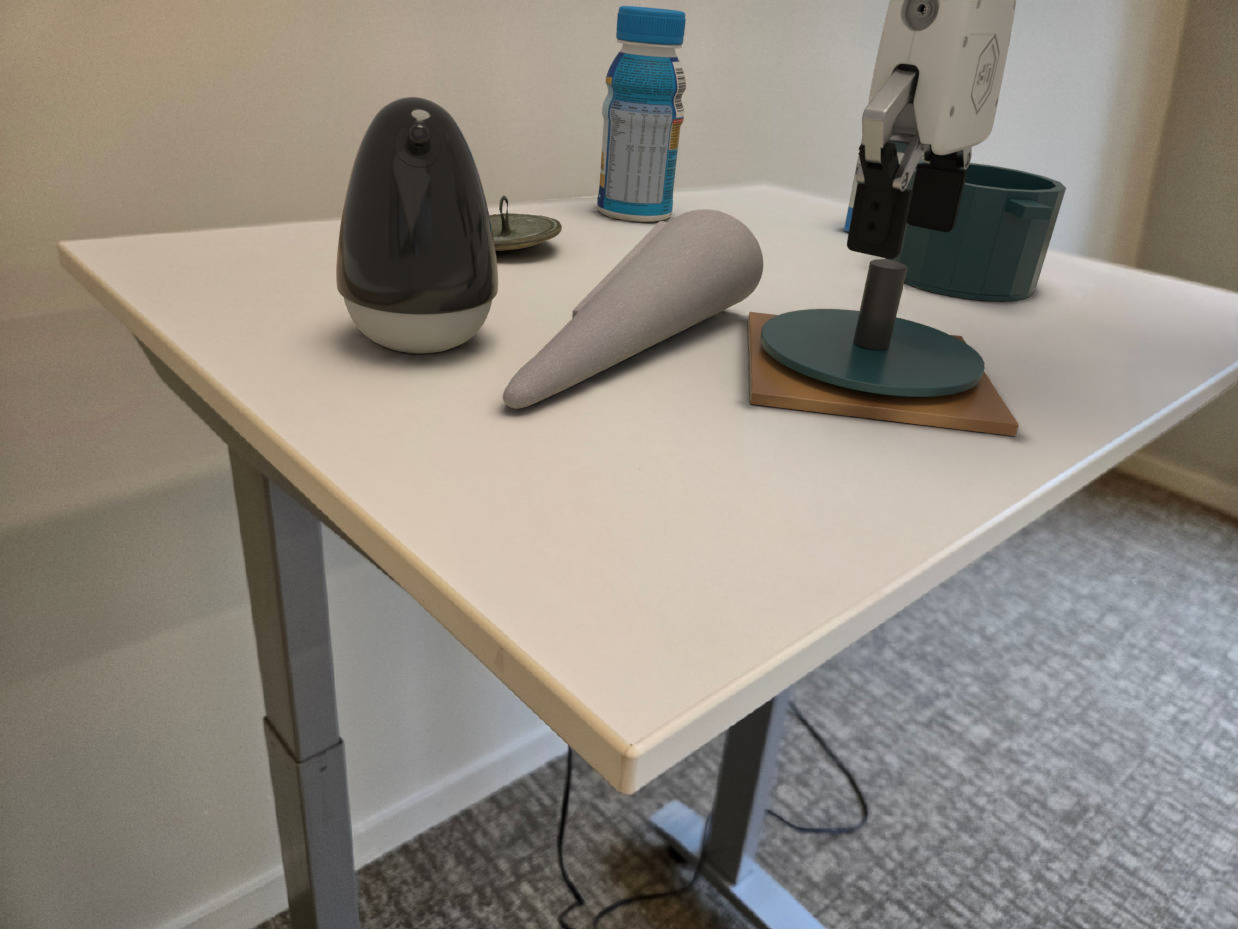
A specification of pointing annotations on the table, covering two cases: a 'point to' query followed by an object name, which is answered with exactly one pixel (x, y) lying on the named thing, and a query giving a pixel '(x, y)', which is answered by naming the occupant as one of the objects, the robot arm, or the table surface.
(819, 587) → the table surface
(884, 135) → the robot arm
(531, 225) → the lid
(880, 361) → the pot lid
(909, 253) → the pot
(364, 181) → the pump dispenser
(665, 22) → the beverage bottle
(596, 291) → the grey cone
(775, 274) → the table surface
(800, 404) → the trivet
